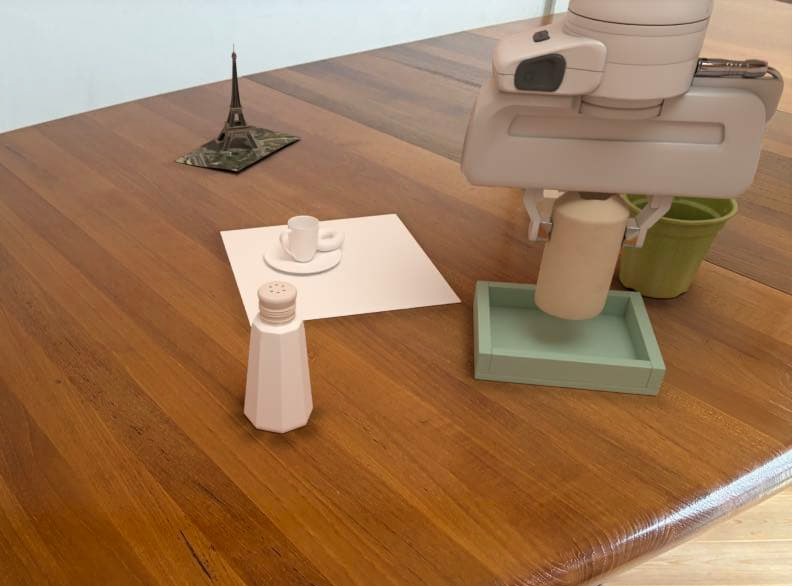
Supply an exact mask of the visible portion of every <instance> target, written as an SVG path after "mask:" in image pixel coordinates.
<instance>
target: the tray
mask: <svg viewBox="0 0 792 586" xmlns="http://www.w3.org/2000/svg"><path fill="white" fill-rule="evenodd" d="M536 285H537V284H531V283H519V282H517V283H516V282H504V281H503V282H502V281H492V280H491V281H489V280H477V279H476V283H475V290H474V297H473V302H472V303H473V304H472V306H473V307H472V316H473V317H472V319H473V320H472V321H473V366H474V367H473V369H474V370H473V371H474V372H473V373H474V376H473V377H474V380H481V381H492V382H502V383H512V384H513V383H514V384H525V385H533V386H534V385H535V386H545V387H557V388H566V389H568V388H569V389H578V390H588V391H600V392H601V391H602V392H609V393H621V394H630V395H631V394H633V395H642V396H652V397H653V396H654V397H658V396H659V395H658V394H659V391H660V389H661V386H662V383H663V380H664V377H665V375H666V371H667V368H666V365H665V361H664V359H663V355H662V352H661V350H660V347H659V344H658V340H657V338H656V335H655V332H654V329H653V326H652V324H651V320H650V317H649V315H648V311H647V308H646V304H645V302H644V299H643V297H642V296H643V295H641V293H640V292H637V291H631V290H630V291H629V290H616V289H615V290H614V289H609V291H608V295H607V299H606V302H605V305H604V308H603V310H602V312H601V313H600V314H599V315H597V316H596V317H593V318H590V319H584V320H570V319H563V318H559V317H556V316H553V315H550V314H548V313H546V312H544V311H543V310H541V309H540V308H539V307H538V306H537V305H536V303H535V291H536Z"/></svg>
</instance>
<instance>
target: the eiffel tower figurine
mask: <svg viewBox="0 0 792 586" xmlns="http://www.w3.org/2000/svg"><path fill="white" fill-rule="evenodd" d="M232 45H233V46H232V47H233V49H232V53H231V55H230V57H231V60H232V61H231V63H232V64H231V66H232V67H231V95H230V96H231V97H230V98H231V99H230V104H229V105H228V107H229V111H228V115H227V119H226V120H225V121H224V126H223V128H222V129H221V131H220V132H219V134H218V136H217V137H215V138H214V139H212V140H210V141H208V142H206V143H204V144H202V145H200V146H198V147H197V148H195V149H194V150H191V151H190V152H189V153H187V154H185V155H183V156H181V157H179V158H178V159H176V160H174V162H176V163H179V164H180V163H181V164H186V165H192V166H197V167H205V168H214V169H222V170H223V169H224V170H229V171H235V172H239V171H241V170H242V169H244V168H247V167H248V166H250V165H253V164H254V163H255V162H257V161H260V160H261V159H263V158H264V157H266V156H268V155H269V154H272V153H274V152H275V151H277V150H279V149H281V148H283V147H284V146H287V145H289V144H291V143H293V142H295V141H298V140H299V139H301V138H302V137H301V136H297V135H293V134H288V133H284V132H280V131H275V130H272V129H267V128H262V127H260V126H259V127H258V126H254V125H250V124H248V122H247V120H246V119H245V117H244V112H243V106H242V103H241V98H240V97H241V96H240V89H239V79H238V69H237V53H236V52H235V43H233V44H232ZM236 115H237V117H238V119H236V118H235V117H236ZM235 119H236V120H235Z"/></svg>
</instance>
